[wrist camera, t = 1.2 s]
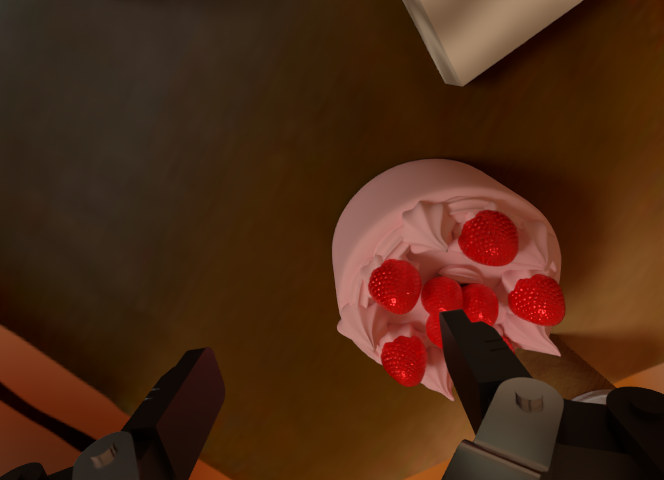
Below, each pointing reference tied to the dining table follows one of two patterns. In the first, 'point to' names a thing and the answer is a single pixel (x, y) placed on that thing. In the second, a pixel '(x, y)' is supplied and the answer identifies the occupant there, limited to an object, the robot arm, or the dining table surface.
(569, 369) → the disposable coffee cup
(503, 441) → the robot arm
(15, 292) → the dining table surface
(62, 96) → the dining table surface
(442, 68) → the birch base
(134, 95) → the dining table surface
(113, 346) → the dining table surface
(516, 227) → the cake
